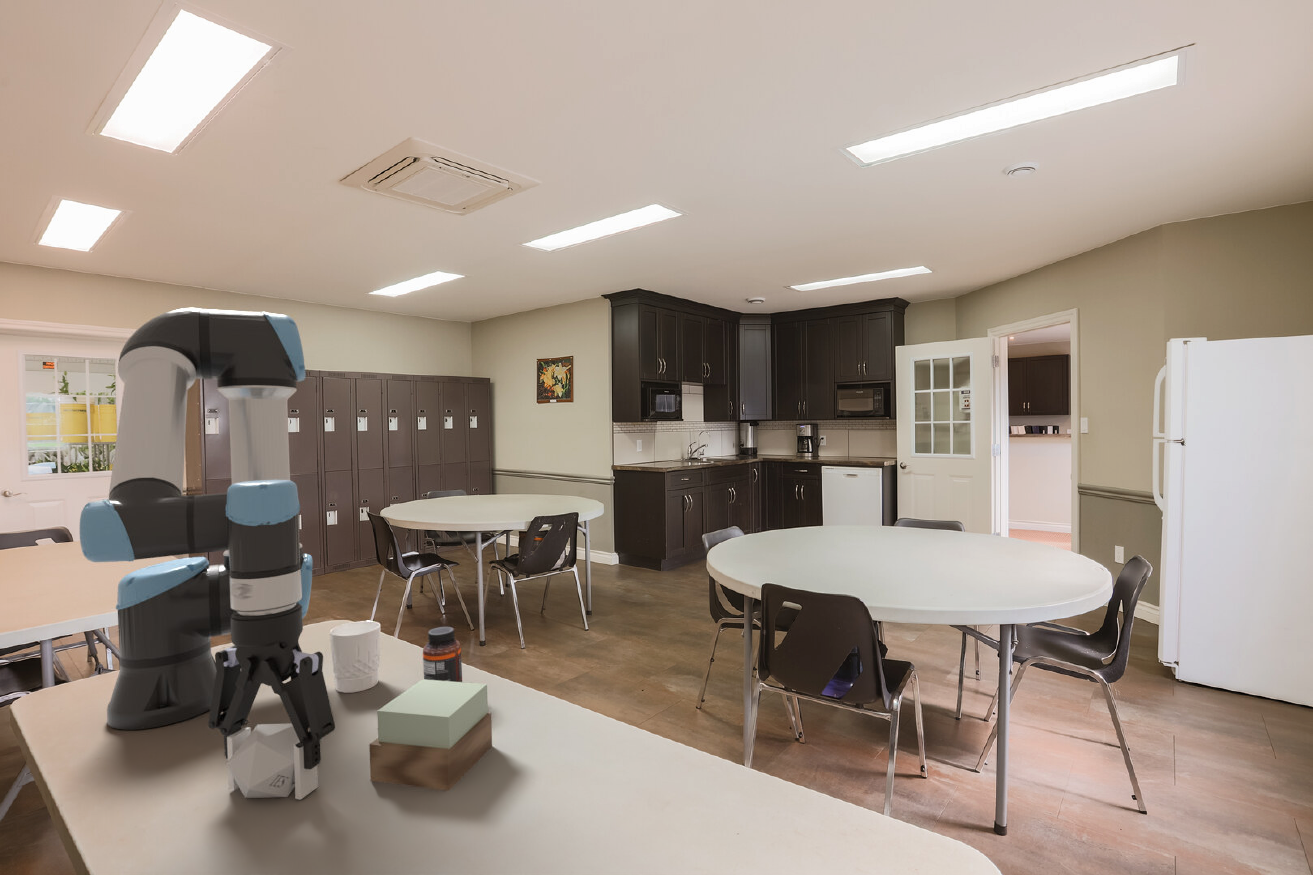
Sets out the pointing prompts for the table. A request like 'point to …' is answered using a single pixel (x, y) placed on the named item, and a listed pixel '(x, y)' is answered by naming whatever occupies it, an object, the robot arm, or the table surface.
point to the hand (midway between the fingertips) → (273, 787)
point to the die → (266, 762)
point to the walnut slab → (430, 759)
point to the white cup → (356, 655)
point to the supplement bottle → (442, 656)
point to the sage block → (432, 713)
